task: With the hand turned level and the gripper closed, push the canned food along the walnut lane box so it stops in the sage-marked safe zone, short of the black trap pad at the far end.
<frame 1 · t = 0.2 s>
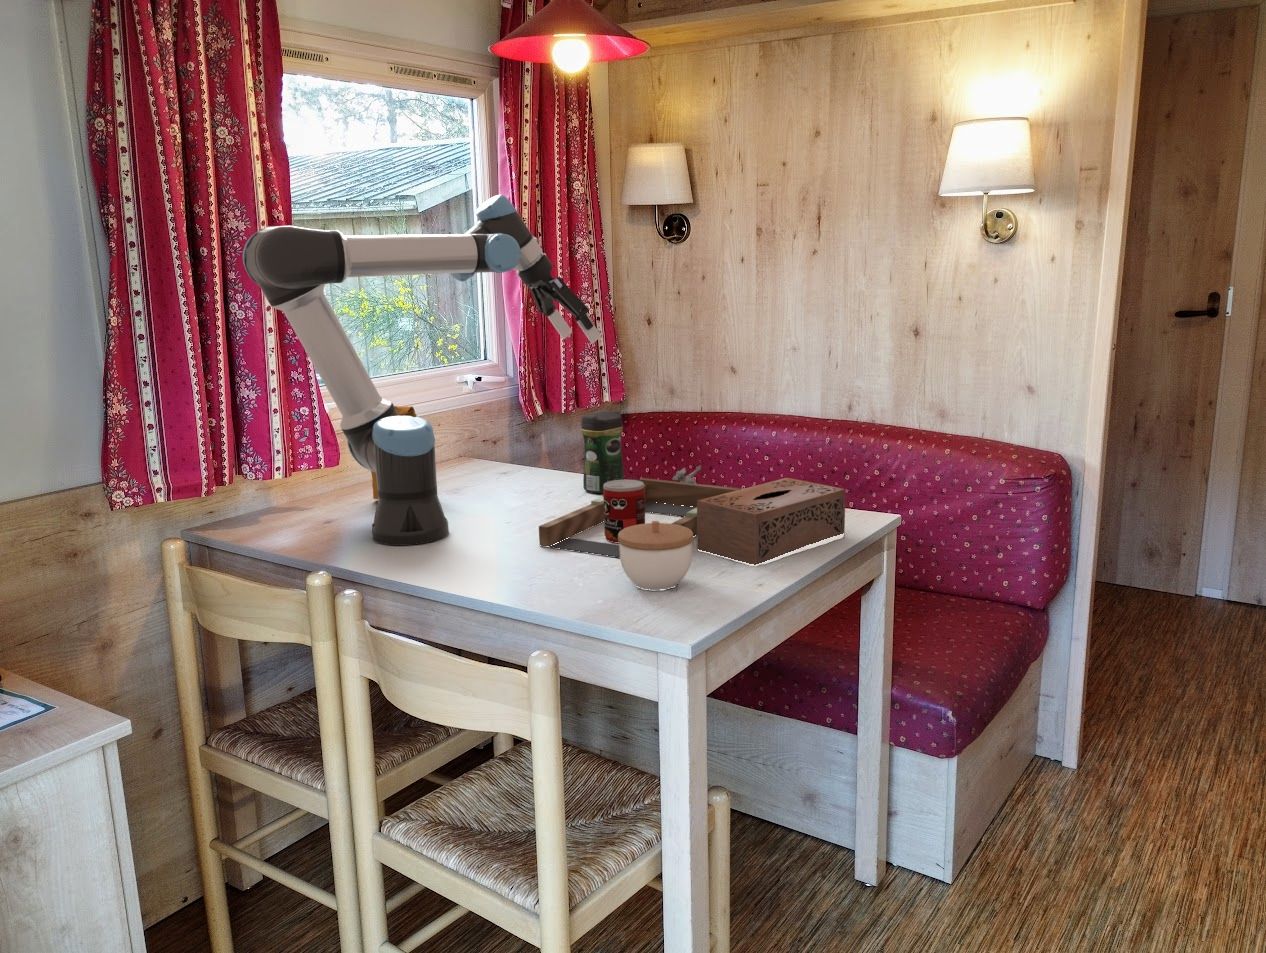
hand: (581, 337, 237), 36 cm above the table, tool tilted 35°, fingers open, 13 cm apart
tissue box cover: (771, 546, 198), on the table
near trap pad: (601, 549, 197), on the table
coffee package: (402, 501, 239), on the table
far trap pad: (678, 511, 223), on the table
lidded bowl: (656, 585, 176), on the table
canned food: (625, 539, 204), on the table
coffee jar: (603, 490, 244), on the table
grey toy figurine: (691, 496, 238), on the table
lane box: (644, 528, 211), on the table
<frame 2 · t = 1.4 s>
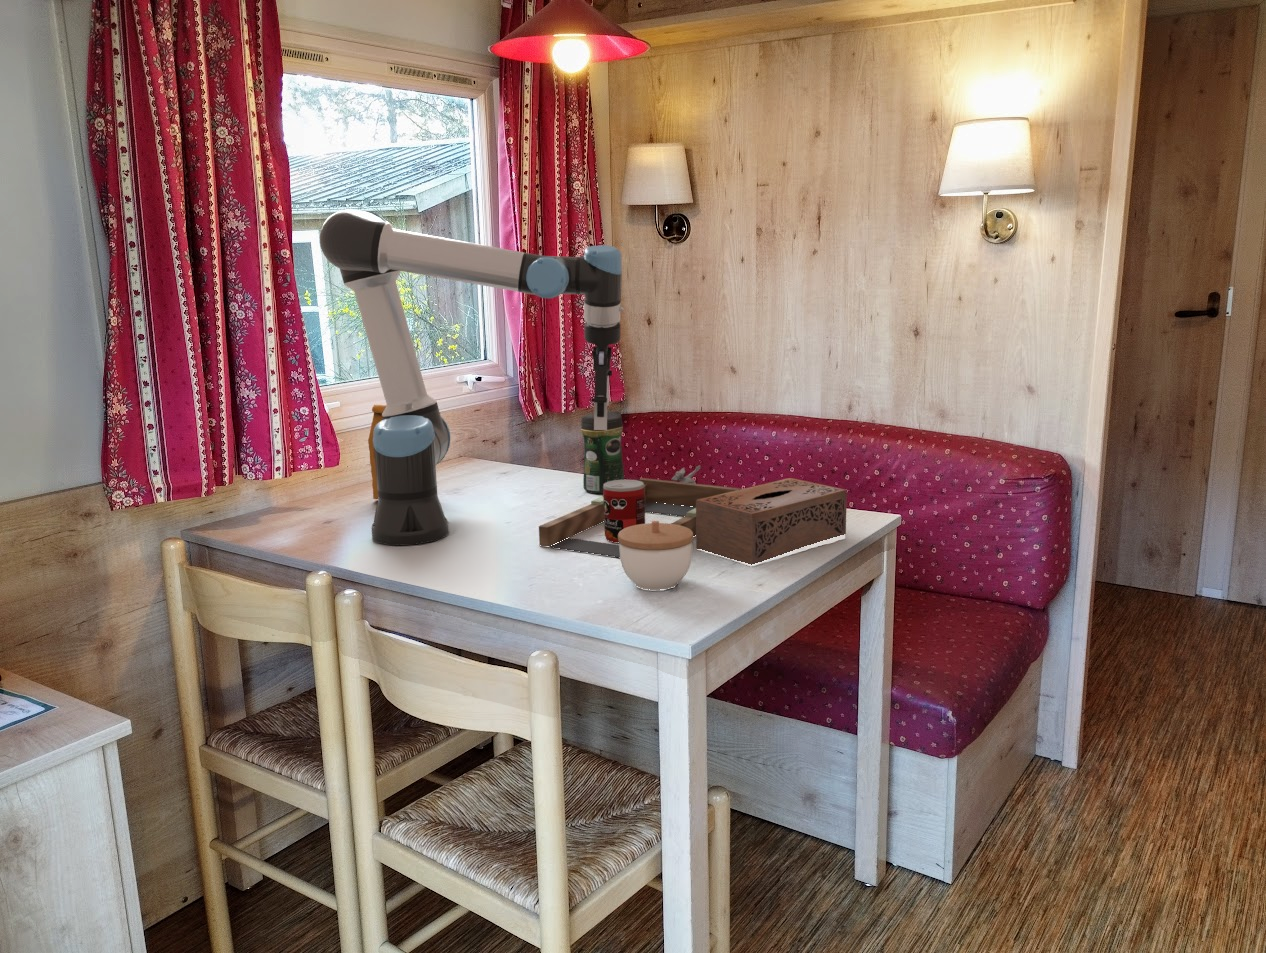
hand: (601, 416, 225), 20 cm above the table, tool pointing down, fingers open, 13 cm apart
nothing on the table moved.
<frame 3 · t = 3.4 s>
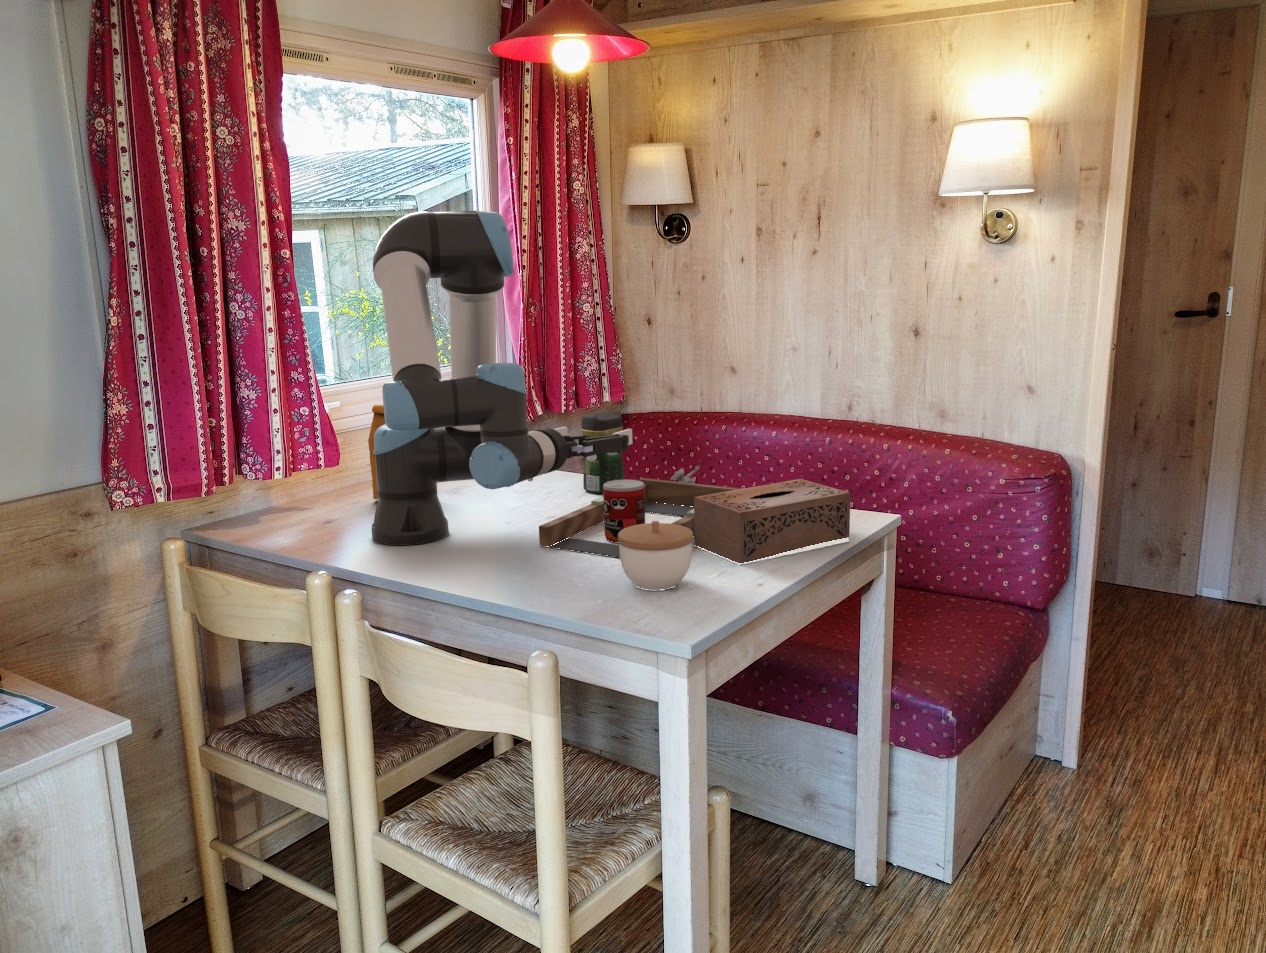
hand: (597, 434, 193), 22 cm above the table, tool horizontal, fingers open, 13 cm apart
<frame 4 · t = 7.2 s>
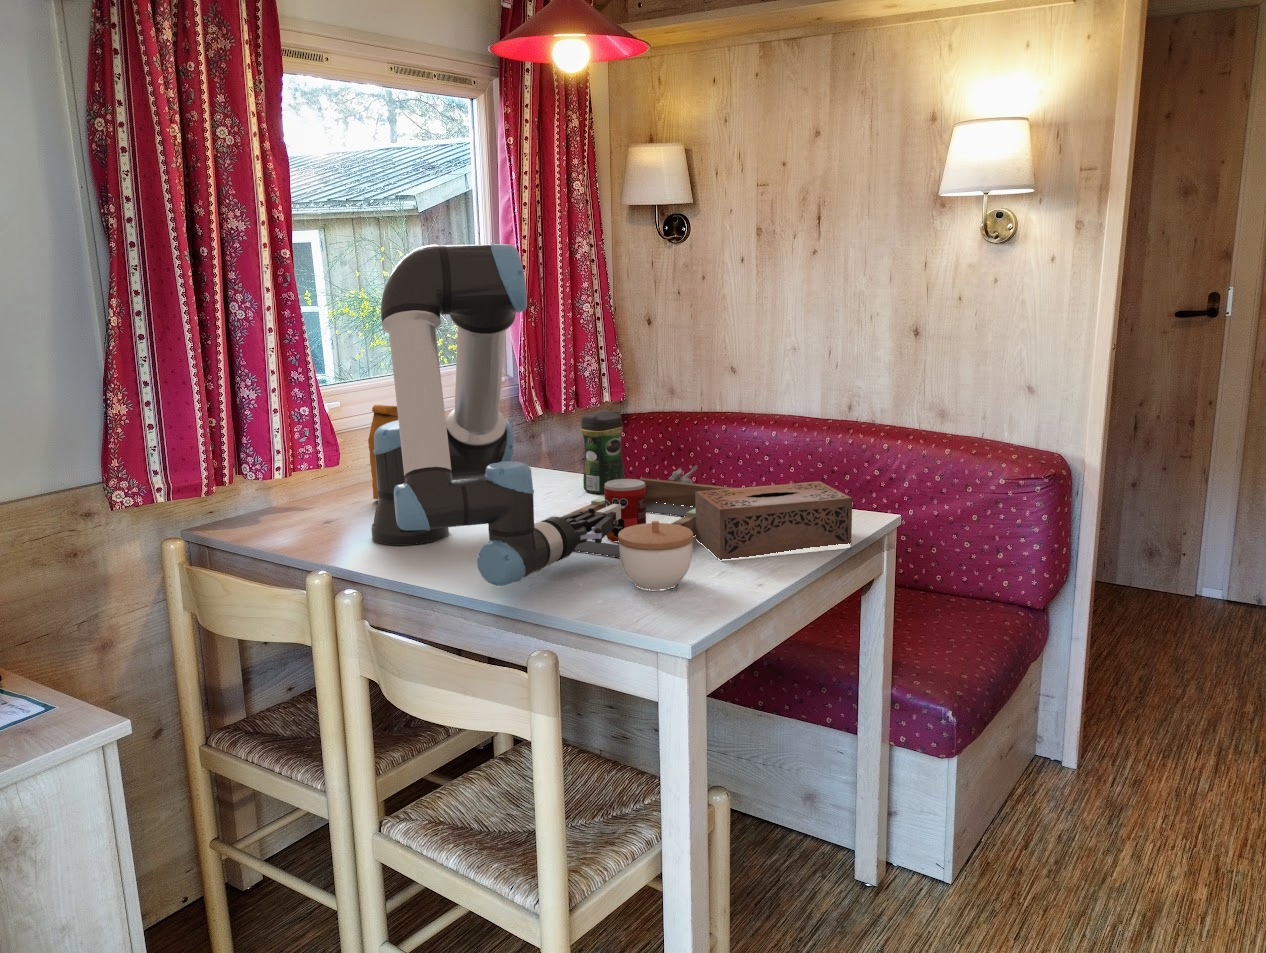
hand: (617, 510, 199), 6 cm above the table, tool horizontal, fingers closed
canned food: (626, 538, 205), on the table, touching gripper
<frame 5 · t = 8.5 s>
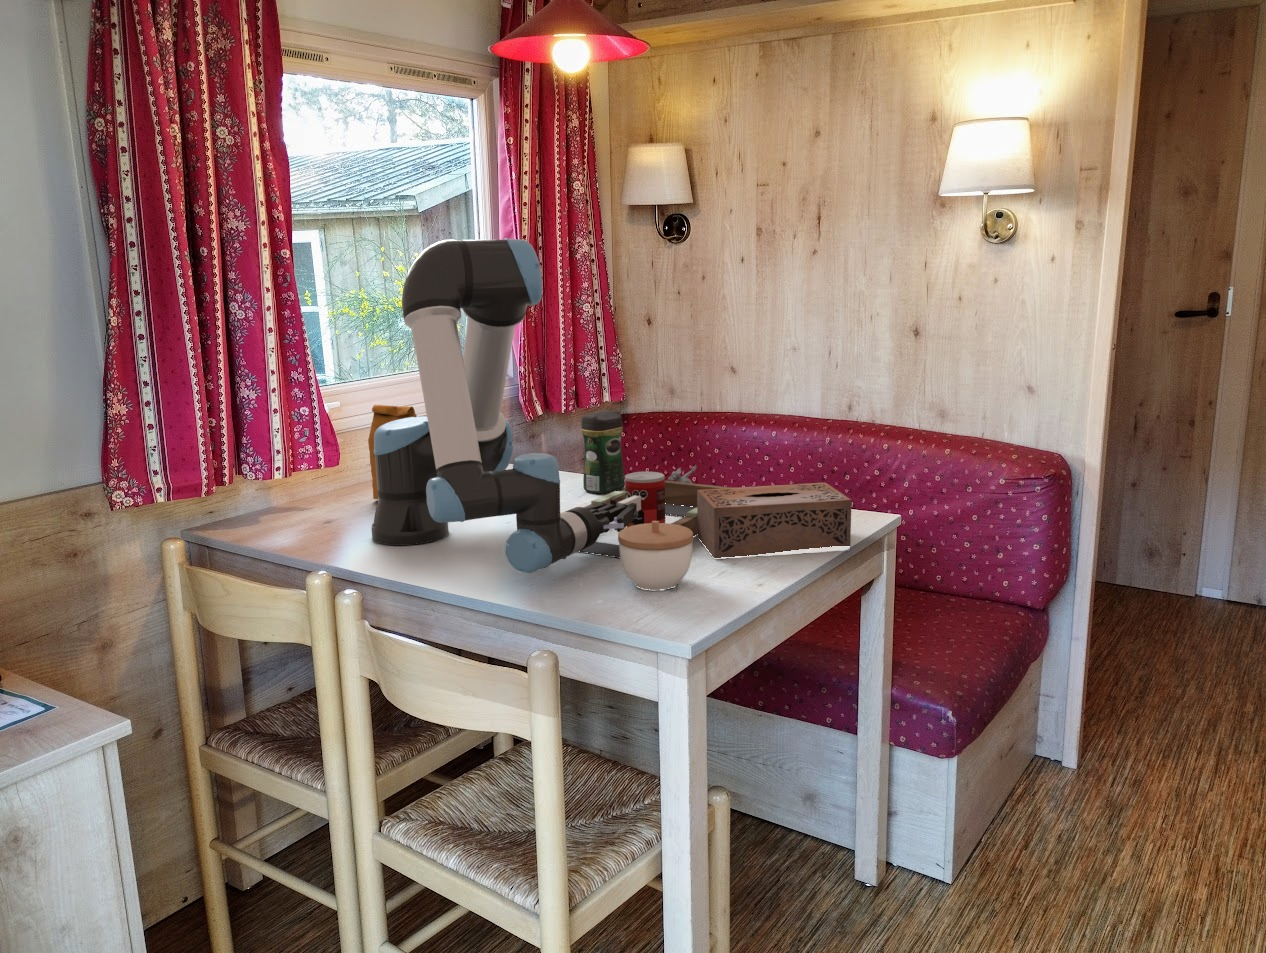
hand: (637, 502, 206), 6 cm above the table, tool horizontal, fingers closed
canned food: (645, 529, 211), on the table, touching gripper
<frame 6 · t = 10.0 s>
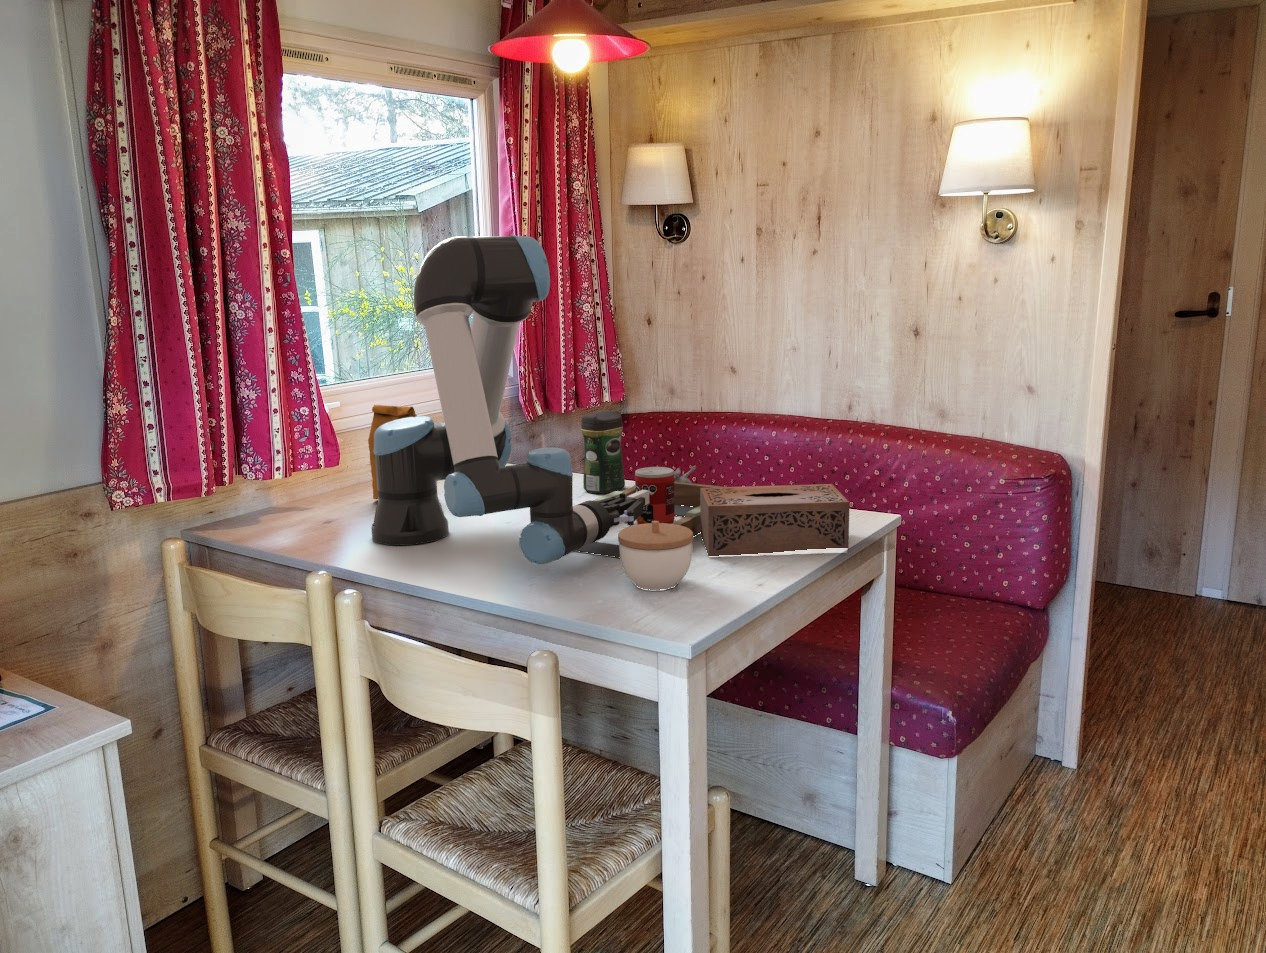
hand: (646, 496, 210), 7 cm above the table, tool horizontal, fingers closed
canned food: (655, 523, 215), on the table, touching gripper
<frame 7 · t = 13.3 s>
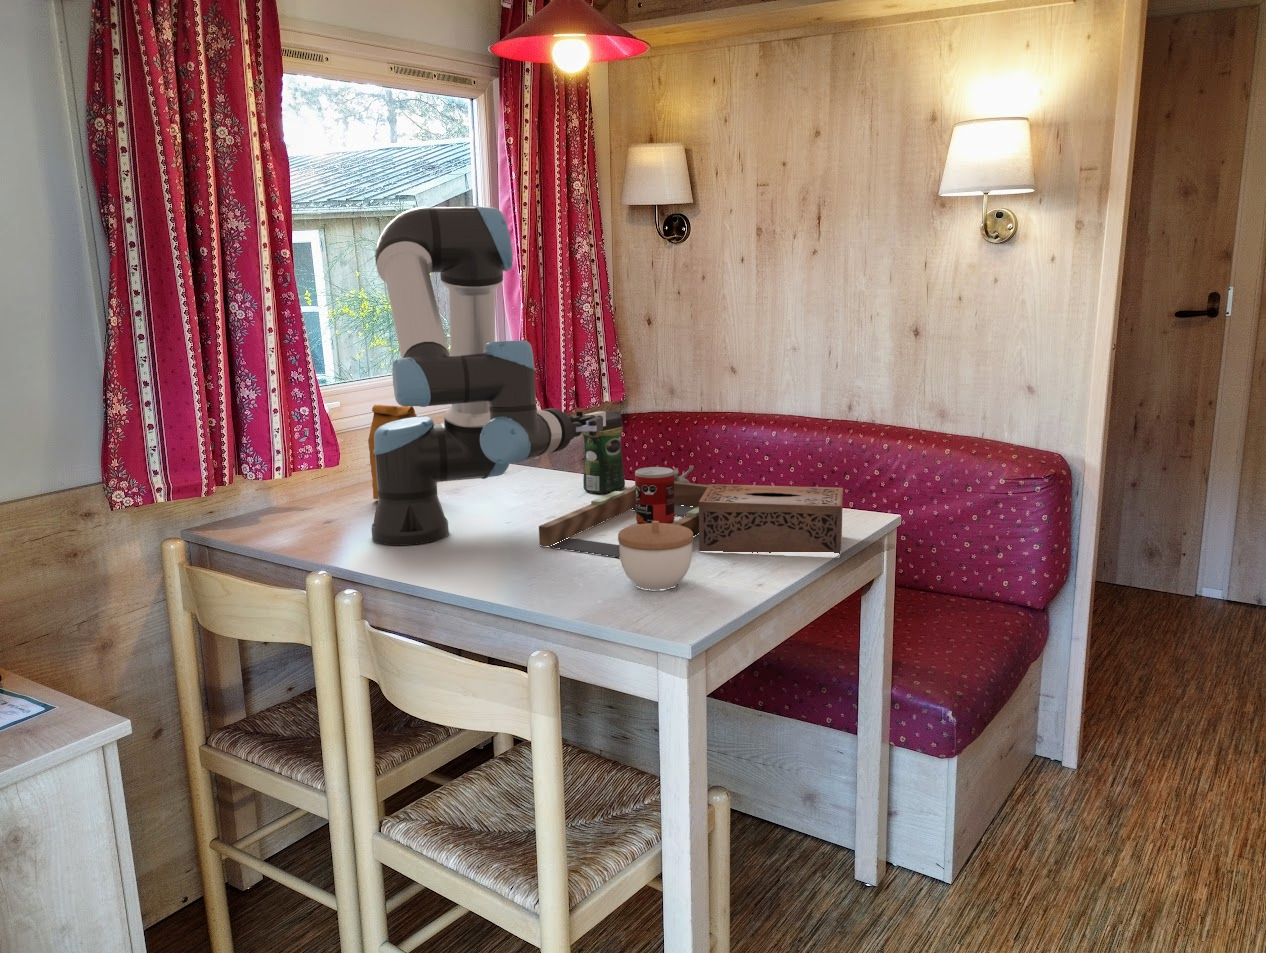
hand: (602, 418, 198), 24 cm above the table, tool horizontal, fingers closed
canned food: (655, 523, 215), on the table
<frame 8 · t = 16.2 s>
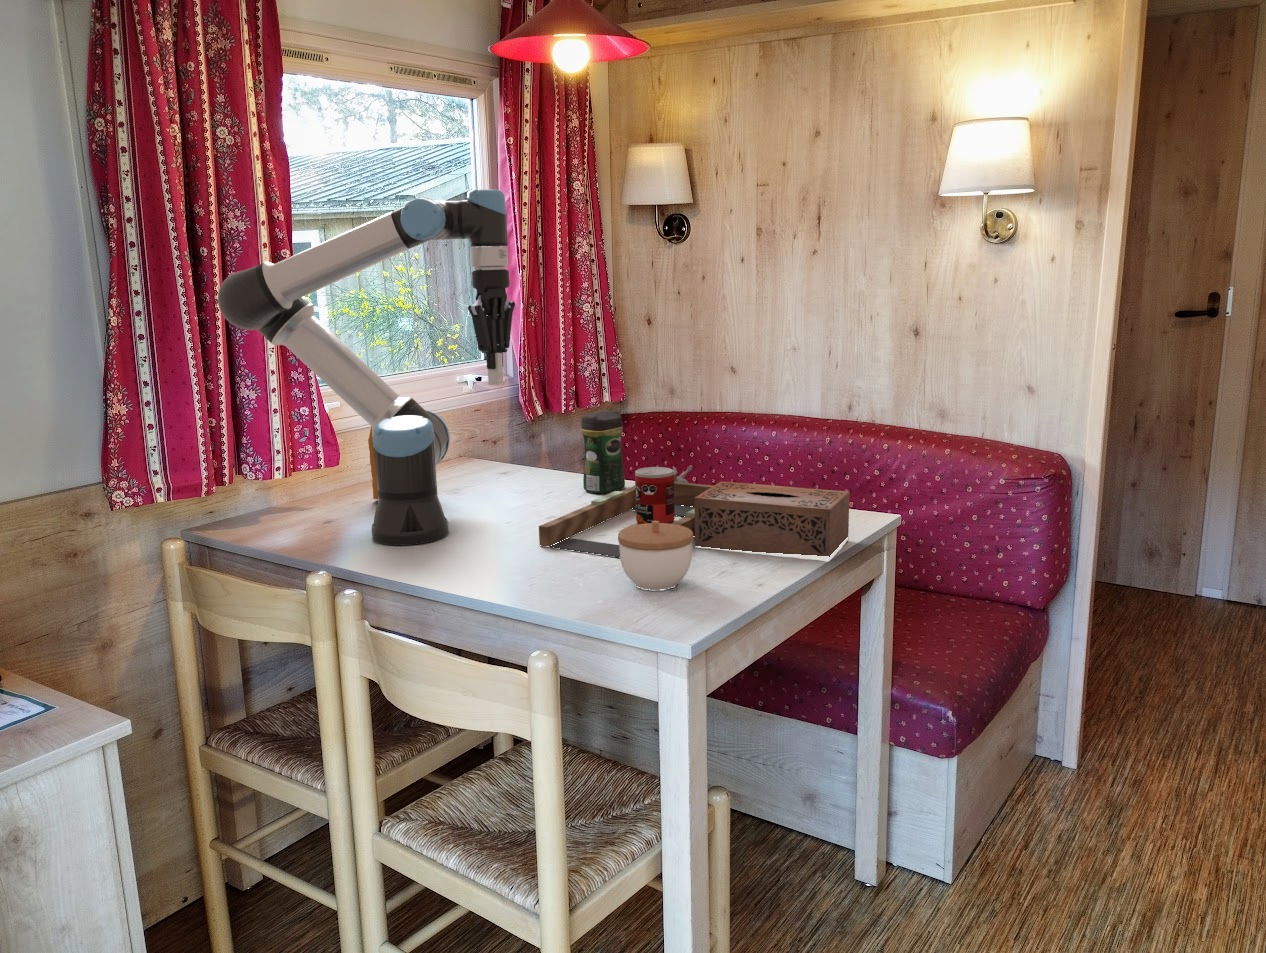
hand: (496, 384, 216), 28 cm above the table, tool pointing down, fingers closed
at the end: canned food inside the target area (0.7 cm from its centre), on the table; canned food touching table; canned food tilted 0° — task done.
